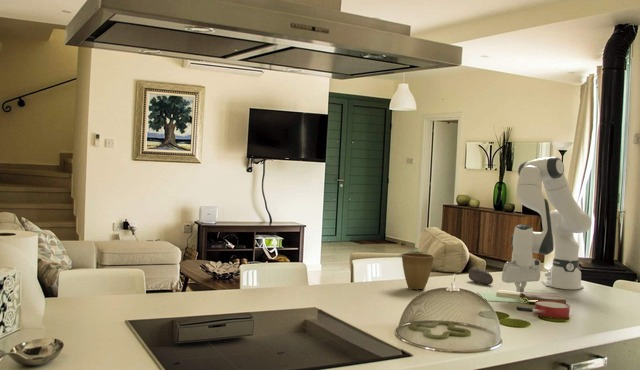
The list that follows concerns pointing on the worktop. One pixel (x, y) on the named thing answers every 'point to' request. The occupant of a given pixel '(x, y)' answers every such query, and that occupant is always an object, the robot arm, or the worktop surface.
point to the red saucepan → (549, 309)
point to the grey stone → (480, 276)
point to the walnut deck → (543, 296)
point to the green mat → (499, 298)
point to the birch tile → (508, 294)
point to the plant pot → (417, 269)
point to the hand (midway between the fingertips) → (520, 291)
